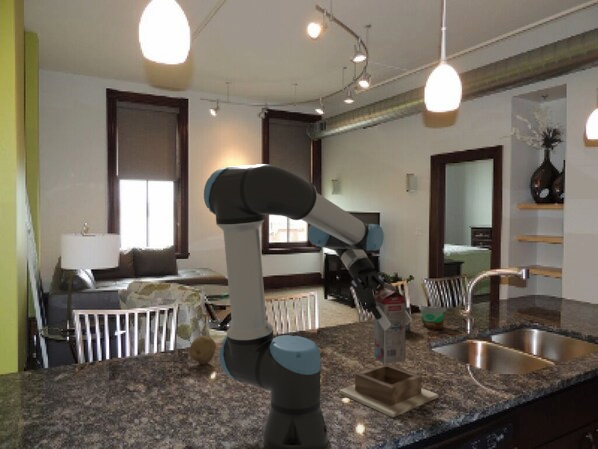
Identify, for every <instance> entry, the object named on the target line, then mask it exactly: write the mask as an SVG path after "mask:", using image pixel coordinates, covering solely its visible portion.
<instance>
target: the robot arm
mask: <svg viewBox="0 0 598 449" xmlns="http://www.w3.org/2000/svg"><path fill="white" fill-rule="evenodd" d="M207 178H208V179H207V181H206V182H205V185H204V189H203V201H204V204H205V206H206V208H207V209H208V210H209V212H210V213H212V214H213V215H215V222H216V226H218V227H219V228H220V230H222V231H223V239H224V240H223V242H224V251H225V253H224V254H225V261H226V262H225V263H226V275H227V284H228V296H229V305H230V316H231V318H230V319H231V325H230V327H229V328H228V329H227V330H226V336H225V337H224V338H223V340H222V345H221V346H220V348H219V352H218V354H219V356H218V357H219V358H218V359H219V363H220V367H221V370H223V373H225V374H226V375H227V376H228V377H229V378H231V379H234V380H235V381H237V382H239V383H245V384H247V385H248V384H249V385H251V386H254V387H258V388H261V389H264V390H267V391H269V392H270V408H269V412H268V416H267V419H266V423H265V426H264V428H263V430H262V431H263V432H262V436H263V437H262V438H263V439H262V441H263V445H264V447H265V449H325V448H326V447H327V444H328V441H329V439H328V436H329V432H328V428H327V424H326V420H325V418H324V415H323V413H322V409H321V385H322V384H321V383H322V382H321V380H322V379H321V377H322V376H321V374H322V372H321V371H322V370H321V369H322V360H321V351H320V348H319V346H318V345H317V344H316V343H315V342H314V341H313V340H311V339H309V338H306V337H303V336H299V335H294V336H293V335H291V334H287V335H285V334H283V335H279V336H276V337H274V336H275V334H274V327H273V325H272V324H271V323H269V322H268V321H267V313H266V311H267V309H266V300H265V289H264V288H265V287H264V286H265V285H264V275H263V266H262V265H263V262H262V250H261V239H260V226H261V225H262V224H263V223H264V222H265V216H280V217H281V216H282V217H285V218H289V219H290V220H292V221H300V220H301V221H302V222H303V221H304V222H305V223H307V224H309V227H308V230H307V237H308V240H309V242H310V243H311V244H313V245H315V246H317V247H318V248H320V247H321V248H325V249H327V250H328V249H329V250H331V251H334V252H335V253H336V255H337V256H338V258H339V259H340V260H341V261H342V264H343V265H344V266H345V268H346V269H347V271H348V274H349V275H350V276H351V278H352V280H351V282H350V285H351V287H352V289H353V290H354V291H355V294H356V296H357V298H358V301H359V303H360V305H361V308H362V309H363V311H367V313H368V314H370V313H372V315H373V317H374V316H375V318H376V319H377V320H378V321H379V323H380V325H381V326H382V328H383V329H384V331H385V330H387V329H388V328H389V327H390V326H391V323H390V322H389V320H388V319H387V317H386V316H385V314H384V313H383V311H382V310H381V308H380V306H377V307H376V302H375V298H374V295H375V293H374V291H375V292H376V293H377V292H378V291H380V290H382V289H383V288H384V283H387V284H390V285H393V284H392V283H391V282H390V280H389V279H388V278H387V275H386V274H385V273H382V274H381V275H378V273H377V272H375V266H374V263H373V262H372V261H371V260H370V258H369V257H368V255H367V253H366V252H365V251H367V252H369V251H378V250H380V249H381V248H382V246H383V244H384V238H385V236H384V230H383V228H382V226H381V225H379V224H374V223H366V222H363V221H362V220H360V219H358V218H357V217H355V216H354V215H352V214H351V213H349V212H348V211H346V210H345V209H343V208H341V206H338V205H337V204H335V203H334V202H332V201H330V200H329V199H327V198H326V197H324V196H322V195H321V194H320V193H318V192H317V189H316V187H315V186H314V185H313V183H311V182H309V181H308V180H306V179H304V178H303V177H301V176H299V175H297V174H296V173H294V172H291V171H289V170H287V169H285V168H283V167H280V166H277V165H273V164H267V163H261V164H260V163H259V164H252V165H251V164H250V165H238V166H235V165H231V166H226V167H222V168H219V169H217V170H215V171H213V172H212V173H211V174H210V176H209V177H207ZM373 290H374V291H373ZM395 290H396V292H397V293H399V294H401V293H400V292H399V290H398V289H397V288H396V287H395ZM412 321H413V318H412V316H411V314H410V315H409V314H408V312H407V311H406V318H405V325H407V324H408V323H409V322H410V323H411V322H412Z"/></svg>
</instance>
